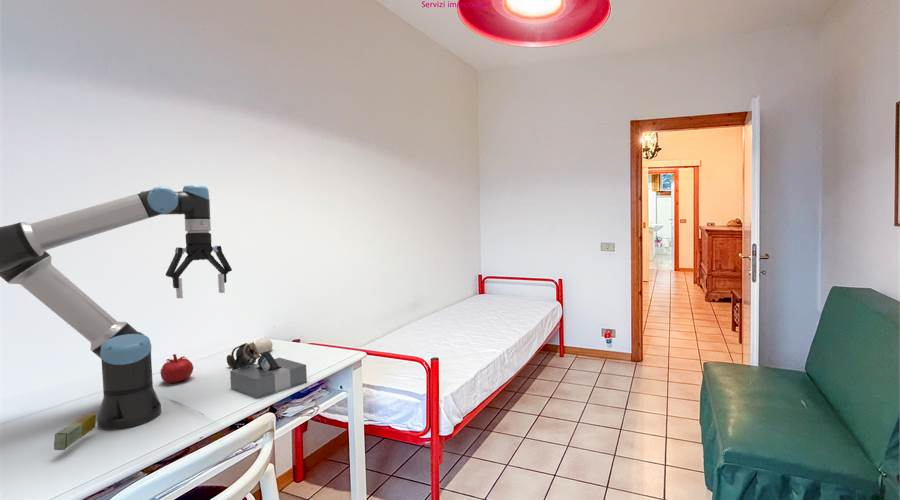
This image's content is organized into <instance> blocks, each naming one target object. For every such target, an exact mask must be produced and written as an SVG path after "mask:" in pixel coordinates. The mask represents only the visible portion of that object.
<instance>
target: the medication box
mask: <svg viewBox="0 0 900 500" xmlns="http://www.w3.org/2000/svg"><path fill="white" fill-rule="evenodd" d="M96 425H97V414H96V413H86V414H84V415H82V416H81V417H79V418H78V419H76V420H74V421H72V422H71V423H70V424H68V425H67V426H65V427H63V429H61V430H59V431H58V432H56V433H54V440H53V441H54V442H53V450H54V451H65V450H66V449H67V448H69V447H70V446H71V445H73V444H74V443H76V442H77V441H78V440H80V439H81V438H83V437H84V436H85V435H87V434H89V433H90V432H91V431H92V430H94V429H95V428H96Z"/></svg>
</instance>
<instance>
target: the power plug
mask: <svg viewBox="0 0 900 500" xmlns="http://www.w3.org/2000/svg"><path fill="white" fill-rule="evenodd" d="M256 360H257V359H256V358H255V357H254V356H253V355H252V354H251V353H246V354H242V355H239V356H237V358H235V362H234V365H233V368H232V369H231V370H235V369H239V368H242V367H246V366H250V365H254V364H256V362H257V361H256Z"/></svg>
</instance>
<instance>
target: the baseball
mask: <svg viewBox="0 0 900 500" xmlns="http://www.w3.org/2000/svg"><path fill="white" fill-rule="evenodd" d="M254 344H255V346H256V348H257V350H258V353H259V354H262V353H263V352H266V351H269V352H270V353H271V351H272V349H273V342H272V341H271V339H270V338H268V337H261V338H259V339H257V341H255V342H254Z"/></svg>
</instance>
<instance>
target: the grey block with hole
mask: <svg viewBox="0 0 900 500" xmlns="http://www.w3.org/2000/svg"><path fill="white" fill-rule="evenodd" d="M274 360H275V361H276V363H277V364H278V366H279V369H275V370H272V371H269V372H266V371H263V370H262V369H261V368H260V366H259V364H258V362H257V363H254V365H250V366H246V367H242V368H239V369H235V370H232V369H231V370H229V372H230V373H229V374H230V377H229V378H230V390H234V391H236V392H239V393H241V394H243V395H247V396H249V397H252V398H254V399H257V400H258V399H261V398H262V397H266V396H270V395H272V394H276V393H278V392H281V391H284V390H287V389H290V388H293V387H297V386H299V385H302V384H305V383H307V381H308V377H307V376H308V375H307V364H305V363H301V362H298V361H294V360H291V359H287V358H282V357H277V358H274Z"/></svg>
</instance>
